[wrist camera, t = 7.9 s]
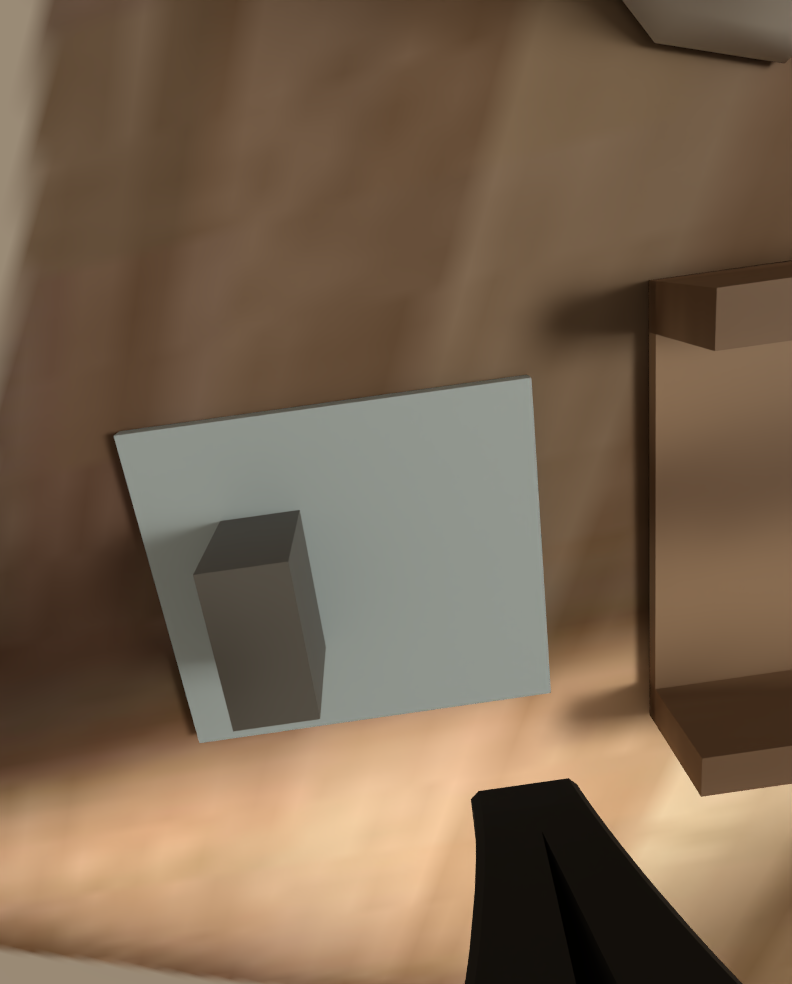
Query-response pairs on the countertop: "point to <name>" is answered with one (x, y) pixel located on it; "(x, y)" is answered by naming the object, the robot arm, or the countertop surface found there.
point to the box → (722, 524)
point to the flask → (720, 25)
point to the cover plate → (347, 556)
